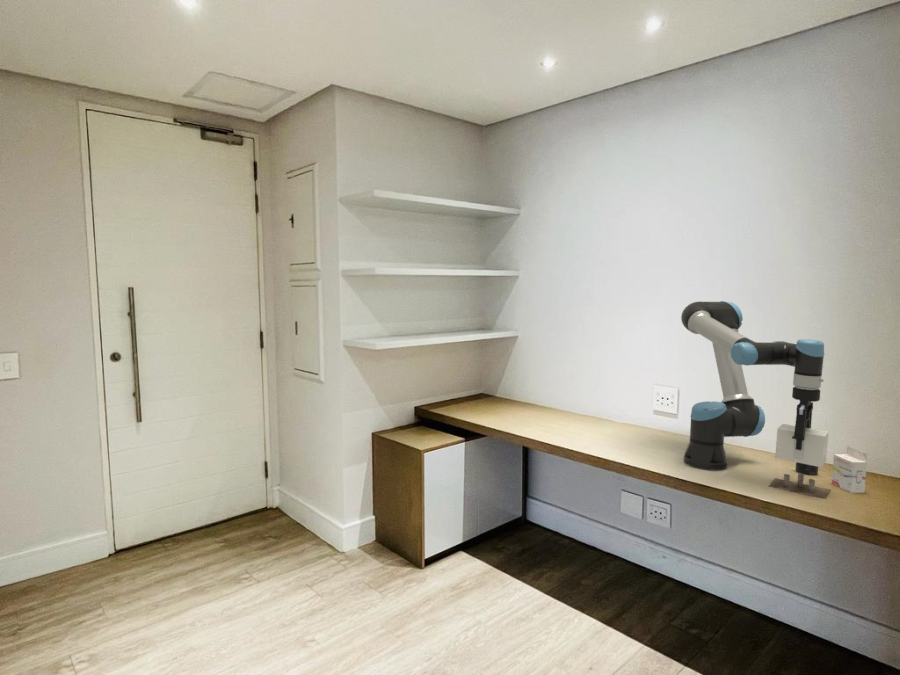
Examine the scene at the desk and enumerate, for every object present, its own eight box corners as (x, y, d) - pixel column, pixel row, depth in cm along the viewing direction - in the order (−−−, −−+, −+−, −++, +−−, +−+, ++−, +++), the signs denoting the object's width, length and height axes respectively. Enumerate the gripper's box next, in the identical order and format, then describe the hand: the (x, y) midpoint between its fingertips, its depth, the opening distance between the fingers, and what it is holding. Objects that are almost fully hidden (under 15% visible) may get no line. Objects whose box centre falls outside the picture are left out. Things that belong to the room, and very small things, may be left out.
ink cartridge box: (830, 487, 186) (833, 445, 184) (844, 487, 186) (847, 444, 185) (850, 497, 177) (854, 452, 176) (865, 497, 178) (868, 452, 176)
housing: (775, 458, 182) (777, 428, 180) (780, 452, 188) (782, 423, 186) (822, 467, 173) (825, 436, 172) (825, 461, 179) (828, 431, 178)
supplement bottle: (790, 472, 200) (793, 440, 199) (810, 473, 200) (812, 440, 199) (802, 479, 194) (804, 446, 192) (822, 479, 193) (824, 446, 192)
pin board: (767, 490, 182) (768, 474, 182) (774, 482, 190) (775, 466, 190) (825, 503, 172) (826, 486, 171) (830, 494, 180) (831, 477, 179)
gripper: (815, 394, 167) (808, 466, 170) (825, 384, 183) (819, 451, 185) (786, 390, 172) (780, 460, 175) (799, 381, 188) (793, 446, 190)
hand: (800, 455), depth 180 cm, fingers closed on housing, 8 cm apart
